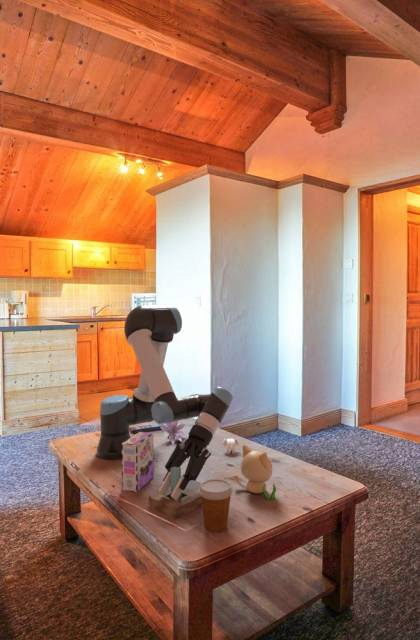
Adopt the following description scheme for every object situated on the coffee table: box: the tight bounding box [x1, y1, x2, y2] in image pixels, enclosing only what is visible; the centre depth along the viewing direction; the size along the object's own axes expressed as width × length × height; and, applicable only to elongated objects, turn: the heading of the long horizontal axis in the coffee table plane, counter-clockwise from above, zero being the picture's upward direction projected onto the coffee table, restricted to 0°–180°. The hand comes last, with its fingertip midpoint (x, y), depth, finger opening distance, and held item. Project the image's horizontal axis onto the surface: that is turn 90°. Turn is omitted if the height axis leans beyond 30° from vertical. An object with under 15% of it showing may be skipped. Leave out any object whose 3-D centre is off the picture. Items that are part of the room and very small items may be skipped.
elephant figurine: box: [222, 437, 240, 455], centre depth 184 cm, size 7×8×6 cm
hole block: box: [148, 487, 202, 520], centre depth 137 cm, size 12×12×4 cm
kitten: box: [232, 444, 277, 500], centre depth 147 cm, size 15×10×15 cm
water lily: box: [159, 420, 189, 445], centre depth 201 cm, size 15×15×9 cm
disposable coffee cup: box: [198, 478, 233, 533], centre depth 125 cm, size 10×10×12 cm
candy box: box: [121, 431, 155, 493], centre depth 153 cm, size 14×6×16 cm, turn 163°
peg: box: [170, 466, 182, 501], centre depth 137 cm, size 3×3×12 cm
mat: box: [160, 475, 202, 491], centre depth 152 cm, size 12×10×1 cm
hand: (167, 495), depth 134 cm, fingers open, 5 cm apart
